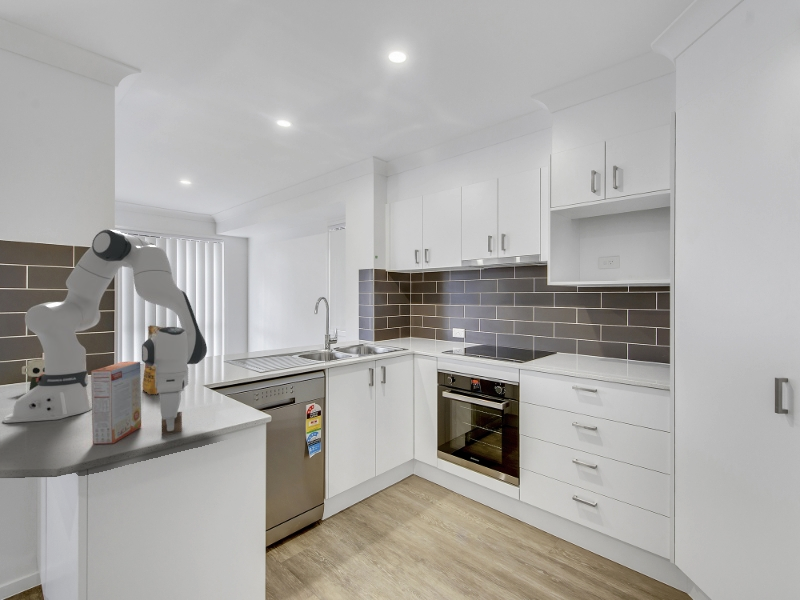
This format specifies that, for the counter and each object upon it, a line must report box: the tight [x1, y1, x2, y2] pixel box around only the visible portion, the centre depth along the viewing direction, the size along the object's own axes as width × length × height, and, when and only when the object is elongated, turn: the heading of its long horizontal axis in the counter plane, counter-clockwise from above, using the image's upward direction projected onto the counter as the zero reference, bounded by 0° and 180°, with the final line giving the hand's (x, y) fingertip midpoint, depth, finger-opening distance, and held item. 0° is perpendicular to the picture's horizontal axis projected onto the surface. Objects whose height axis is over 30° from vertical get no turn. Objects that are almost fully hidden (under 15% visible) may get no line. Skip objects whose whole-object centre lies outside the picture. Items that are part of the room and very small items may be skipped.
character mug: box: [21, 359, 45, 391], centre depth 166 cm, size 11×7×13 cm, turn 143°
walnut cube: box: [161, 411, 183, 436], centre depth 119 cm, size 5×5×5 cm
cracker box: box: [90, 361, 142, 445], centre depth 114 cm, size 14×6×21 cm, turn 5°
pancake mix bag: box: [142, 325, 164, 395], centre depth 167 cm, size 7×19×28 cm, turn 46°
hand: (172, 425), depth 119 cm, fingers open, 8 cm apart
